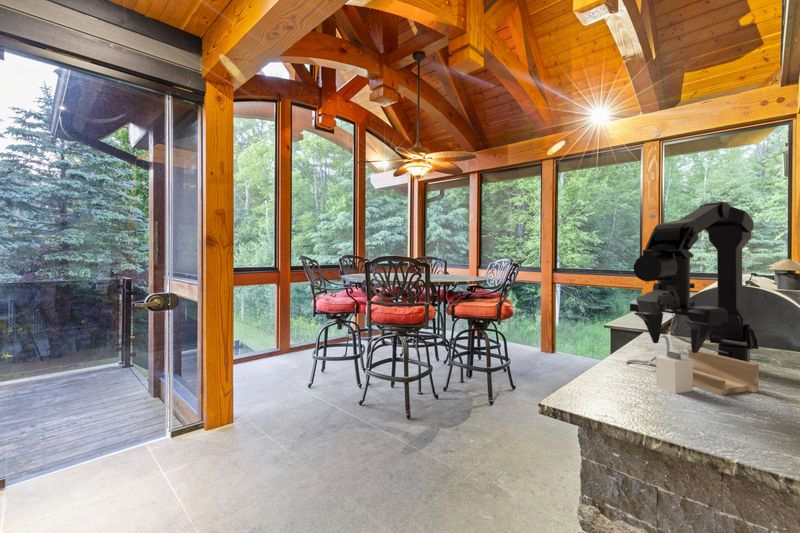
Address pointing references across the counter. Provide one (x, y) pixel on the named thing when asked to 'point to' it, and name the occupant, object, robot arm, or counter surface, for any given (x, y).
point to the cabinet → (674, 373)
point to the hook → (649, 359)
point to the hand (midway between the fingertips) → (674, 347)
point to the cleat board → (723, 373)
